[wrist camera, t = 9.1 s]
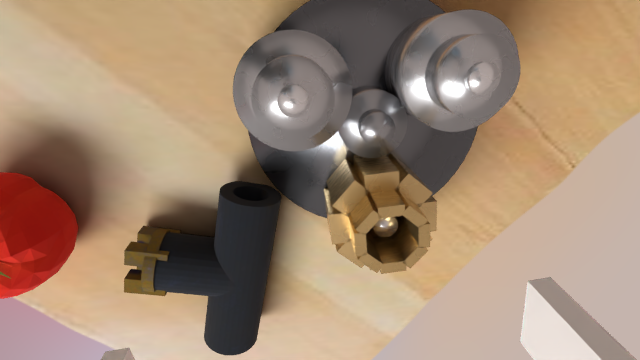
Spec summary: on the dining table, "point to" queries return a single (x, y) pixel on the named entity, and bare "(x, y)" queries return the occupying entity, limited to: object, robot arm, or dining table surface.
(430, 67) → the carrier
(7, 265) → the tomato
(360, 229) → the brass stepped collar
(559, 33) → the dining table surface
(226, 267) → the pipe connector
